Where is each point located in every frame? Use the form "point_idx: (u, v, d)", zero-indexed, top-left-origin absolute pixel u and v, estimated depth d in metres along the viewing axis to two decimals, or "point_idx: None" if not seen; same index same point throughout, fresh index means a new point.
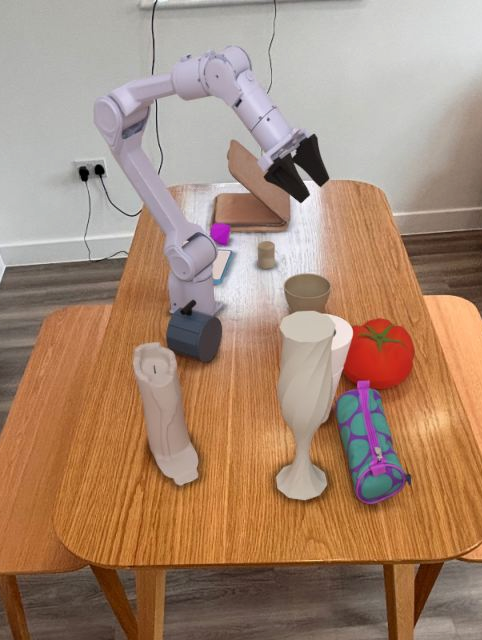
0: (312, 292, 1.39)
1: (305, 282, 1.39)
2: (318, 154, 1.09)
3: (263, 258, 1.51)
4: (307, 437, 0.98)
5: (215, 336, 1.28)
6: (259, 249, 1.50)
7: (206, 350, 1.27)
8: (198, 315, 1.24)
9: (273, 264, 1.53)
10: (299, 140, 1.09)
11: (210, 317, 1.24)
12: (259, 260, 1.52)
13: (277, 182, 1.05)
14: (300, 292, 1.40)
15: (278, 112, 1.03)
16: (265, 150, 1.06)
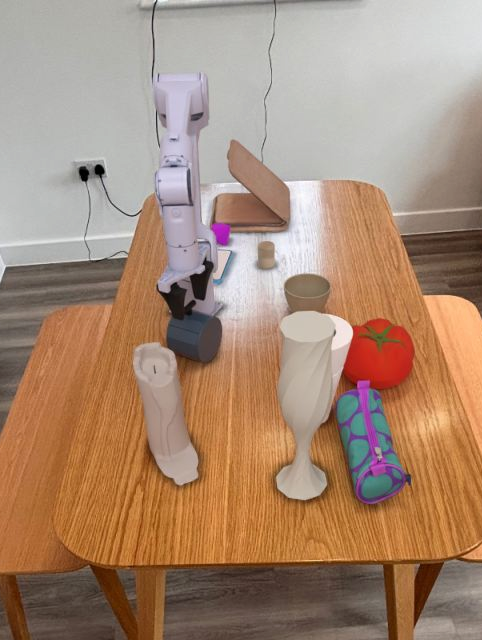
0: (312, 292, 1.39)
1: (305, 282, 1.39)
2: (207, 280, 1.22)
3: (263, 258, 1.51)
4: (307, 437, 0.98)
5: (215, 336, 1.28)
6: (259, 249, 1.50)
7: (206, 350, 1.27)
8: (198, 315, 1.24)
9: (273, 264, 1.53)
10: None
11: (210, 317, 1.24)
12: (259, 260, 1.52)
13: (164, 297, 1.17)
14: (300, 292, 1.40)
15: (195, 247, 1.13)
16: (169, 263, 1.15)
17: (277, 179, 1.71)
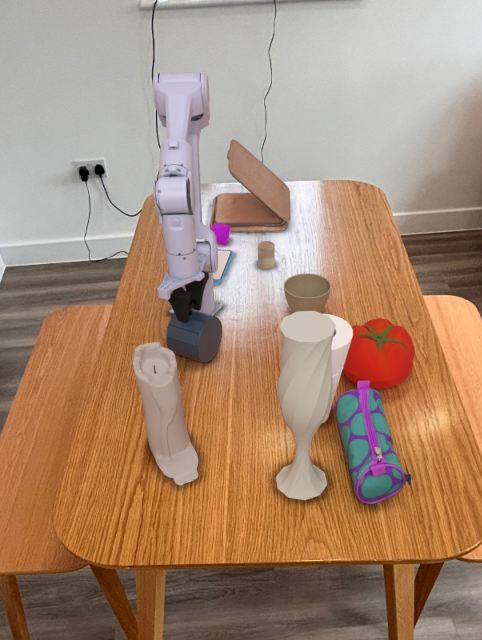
0: (312, 292, 1.39)
1: (305, 282, 1.39)
2: (203, 290, 1.23)
3: (263, 258, 1.51)
4: (307, 437, 0.98)
5: (215, 336, 1.28)
6: (259, 249, 1.50)
7: (206, 350, 1.27)
8: (198, 315, 1.24)
9: (273, 264, 1.53)
10: None
11: (210, 317, 1.24)
12: (259, 260, 1.52)
13: (169, 299, 1.19)
14: (300, 292, 1.40)
15: (195, 255, 1.14)
16: (169, 270, 1.16)
17: (277, 179, 1.71)
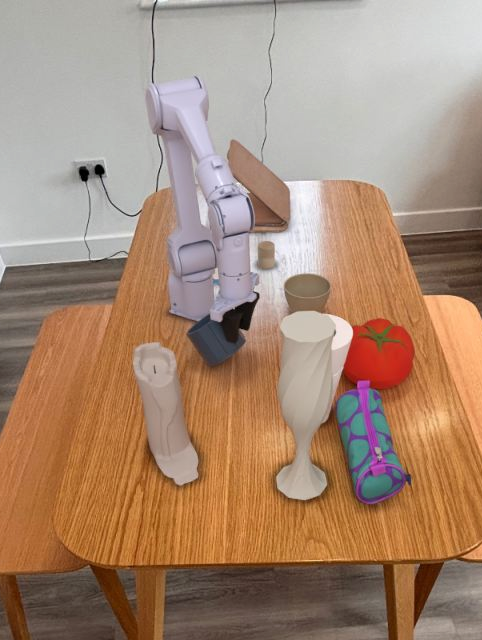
0: (312, 292, 1.39)
1: (305, 282, 1.39)
2: (252, 310, 1.20)
3: (263, 258, 1.51)
4: (307, 437, 0.98)
5: None
6: (259, 249, 1.50)
7: None
8: None
9: (273, 264, 1.53)
10: None
11: (243, 342, 1.24)
12: (259, 260, 1.52)
13: None
14: (300, 292, 1.40)
15: (248, 275, 1.11)
16: (221, 291, 1.14)
17: (277, 179, 1.71)
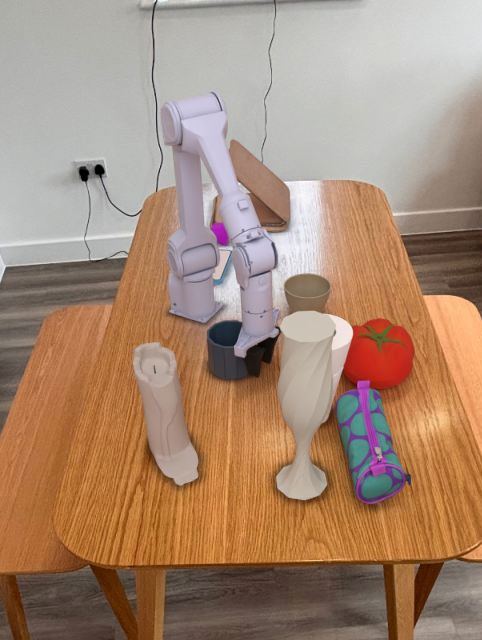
0: (312, 292, 1.39)
1: (305, 282, 1.39)
2: (274, 344, 1.23)
3: None
4: (307, 437, 0.98)
5: None
6: None
7: None
8: None
9: None
10: None
11: None
12: None
13: None
14: (300, 292, 1.40)
15: (271, 312, 1.15)
16: (244, 327, 1.17)
17: (277, 179, 1.71)
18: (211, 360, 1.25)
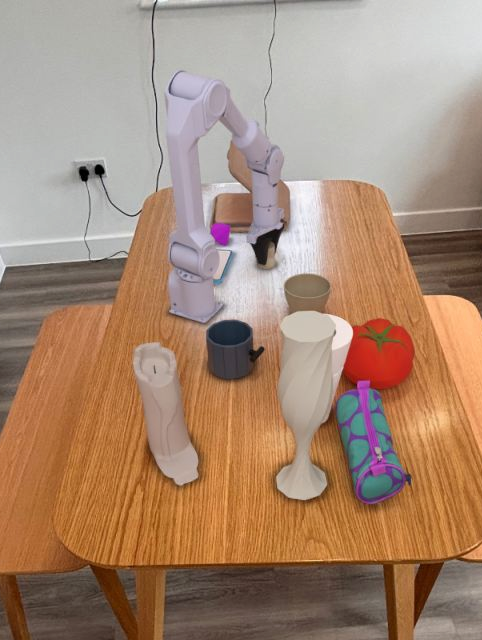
0: (312, 292, 1.39)
1: (305, 282, 1.39)
2: (278, 239, 1.51)
3: None
4: (307, 437, 0.98)
5: None
6: None
7: None
8: None
9: (273, 264, 1.53)
10: None
11: (253, 366, 1.27)
12: None
13: (253, 245, 1.47)
14: (300, 292, 1.40)
15: (277, 207, 1.42)
16: (254, 220, 1.44)
17: None
18: (211, 360, 1.25)
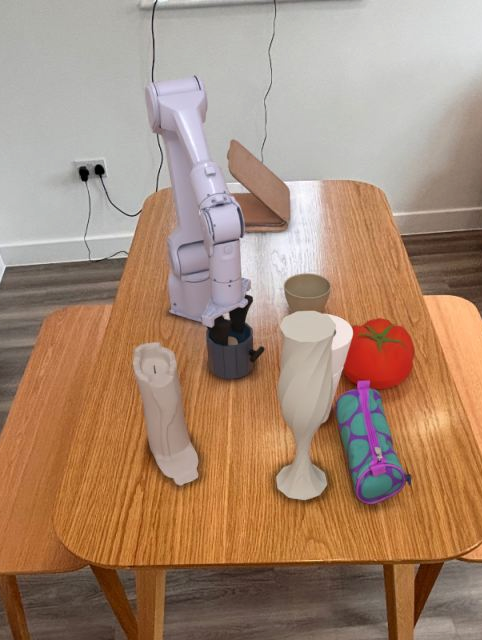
0: (312, 292, 1.39)
1: (305, 282, 1.39)
2: (246, 313, 1.22)
3: None
4: (307, 437, 0.98)
5: None
6: None
7: None
8: None
9: None
10: None
11: (253, 366, 1.27)
12: None
13: (209, 328, 1.18)
14: (300, 292, 1.40)
15: (239, 282, 1.13)
16: (212, 297, 1.15)
17: (277, 179, 1.71)
18: (211, 360, 1.25)
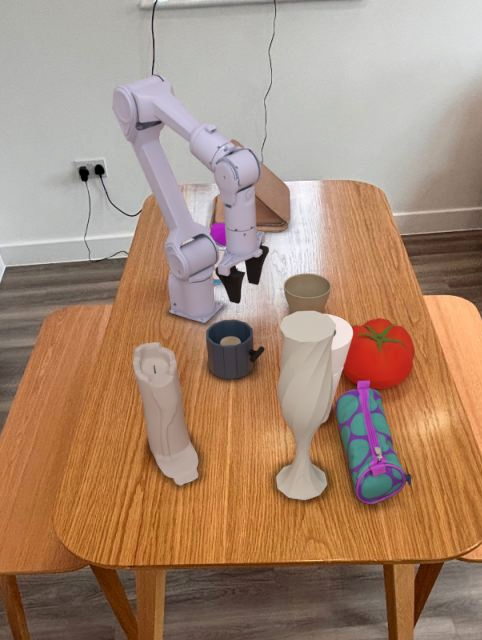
0: (312, 292, 1.39)
1: (305, 282, 1.39)
2: (262, 264, 1.26)
3: None
4: (307, 437, 0.98)
5: None
6: None
7: None
8: None
9: None
10: None
11: (253, 366, 1.27)
12: None
13: (223, 280, 1.21)
14: (300, 292, 1.40)
15: (254, 231, 1.16)
16: (228, 247, 1.18)
17: (277, 179, 1.71)
18: (211, 360, 1.25)
